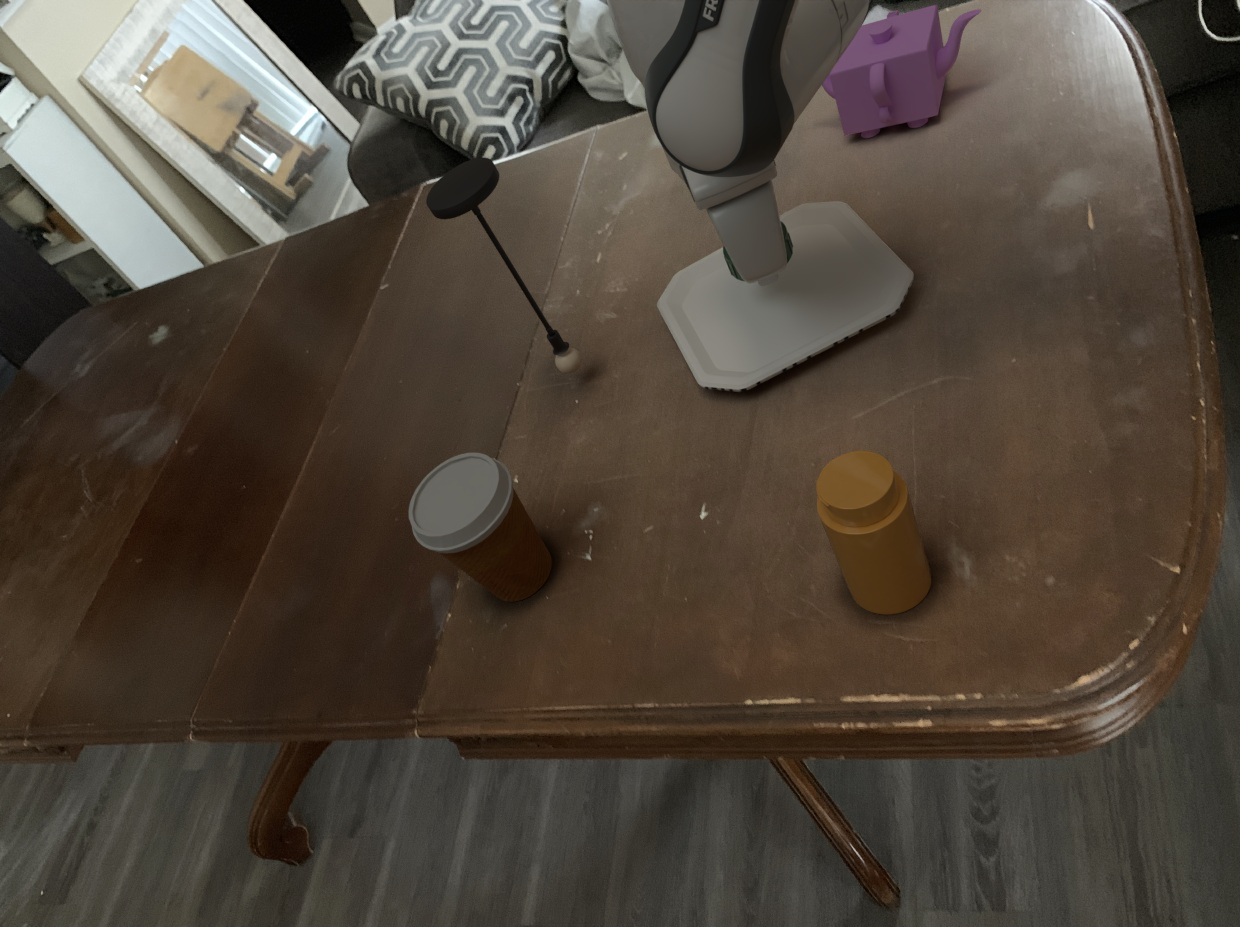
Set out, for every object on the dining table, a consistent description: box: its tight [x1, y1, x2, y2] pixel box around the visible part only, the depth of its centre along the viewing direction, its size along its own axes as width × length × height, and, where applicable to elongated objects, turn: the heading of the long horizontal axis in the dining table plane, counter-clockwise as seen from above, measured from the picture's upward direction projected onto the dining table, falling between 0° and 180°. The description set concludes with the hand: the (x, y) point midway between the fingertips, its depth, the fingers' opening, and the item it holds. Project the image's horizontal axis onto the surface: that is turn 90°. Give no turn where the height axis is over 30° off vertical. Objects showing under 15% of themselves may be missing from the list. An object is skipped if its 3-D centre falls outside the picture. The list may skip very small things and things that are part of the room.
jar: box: [815, 450, 932, 616], centre depth 60 cm, size 6×6×12 cm
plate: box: [656, 200, 915, 393], centre depth 86 cm, size 21×21×2 cm
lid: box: [722, 221, 793, 281], centre depth 82 cm, size 6×6×2 cm
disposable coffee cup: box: [408, 452, 553, 603], centre depth 77 cm, size 10×10×12 cm
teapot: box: [821, 4, 982, 139], centre depth 93 cm, size 18×13×10 cm
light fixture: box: [425, 157, 582, 375], centre depth 85 cm, size 7×7×25 cm
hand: (760, 257), depth 82 cm, fingers closed on lid, 6 cm apart
